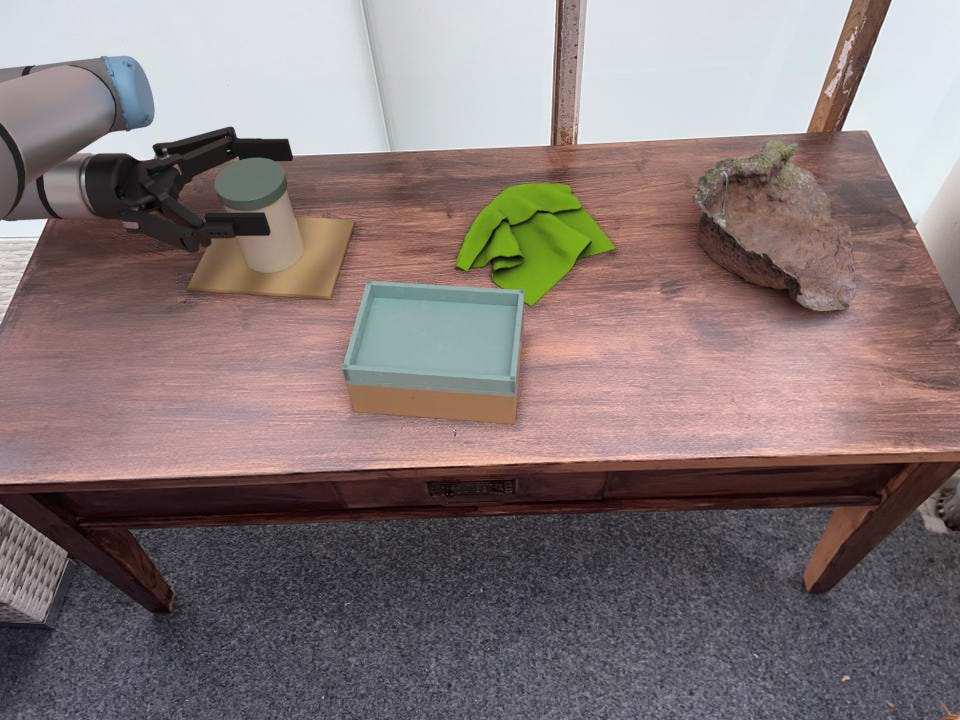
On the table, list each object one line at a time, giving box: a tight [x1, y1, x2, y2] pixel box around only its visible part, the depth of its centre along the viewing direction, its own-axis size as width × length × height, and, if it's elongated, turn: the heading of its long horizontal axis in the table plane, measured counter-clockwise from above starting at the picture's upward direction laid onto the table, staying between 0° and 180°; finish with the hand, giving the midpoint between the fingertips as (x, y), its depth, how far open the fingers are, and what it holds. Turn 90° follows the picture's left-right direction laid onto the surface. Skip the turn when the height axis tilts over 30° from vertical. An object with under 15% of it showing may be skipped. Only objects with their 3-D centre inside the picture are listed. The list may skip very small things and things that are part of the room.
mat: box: [187, 216, 356, 300], centre depth 92 cm, size 18×14×1 cm
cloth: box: [454, 182, 617, 307], centre depth 92 cm, size 20×22×2 cm
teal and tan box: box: [341, 280, 525, 425], centre depth 77 cm, size 17×12×8 cm
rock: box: [692, 139, 858, 312], centre depth 87 cm, size 26×22×10 cm
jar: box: [213, 158, 304, 273], centre depth 88 cm, size 8×8×12 cm
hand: (279, 185), depth 84 cm, fingers open, 13 cm apart
